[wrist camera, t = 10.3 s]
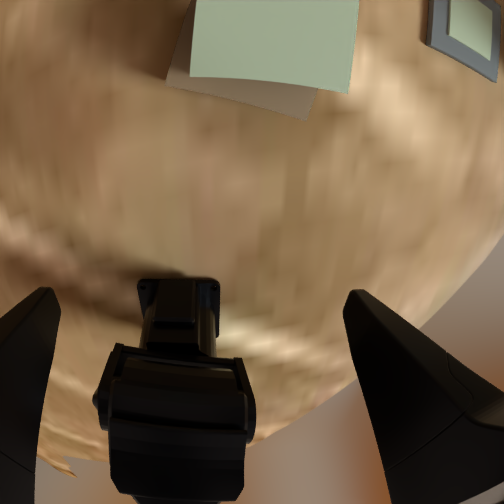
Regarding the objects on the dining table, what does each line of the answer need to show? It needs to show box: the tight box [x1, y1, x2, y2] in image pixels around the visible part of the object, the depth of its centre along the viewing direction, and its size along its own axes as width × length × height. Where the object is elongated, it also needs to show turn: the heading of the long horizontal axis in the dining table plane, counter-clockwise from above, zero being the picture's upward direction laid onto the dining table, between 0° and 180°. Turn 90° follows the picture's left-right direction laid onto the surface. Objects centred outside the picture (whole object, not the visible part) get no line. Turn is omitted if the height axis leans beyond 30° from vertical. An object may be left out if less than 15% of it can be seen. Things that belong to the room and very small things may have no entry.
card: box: [426, 0, 501, 83], centre depth 12 cm, size 8×8×1 cm
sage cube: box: [190, 0, 359, 94], centre depth 9 cm, size 5×5×5 cm
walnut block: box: [165, 0, 318, 121], centre depth 13 cm, size 7×7×4 cm
